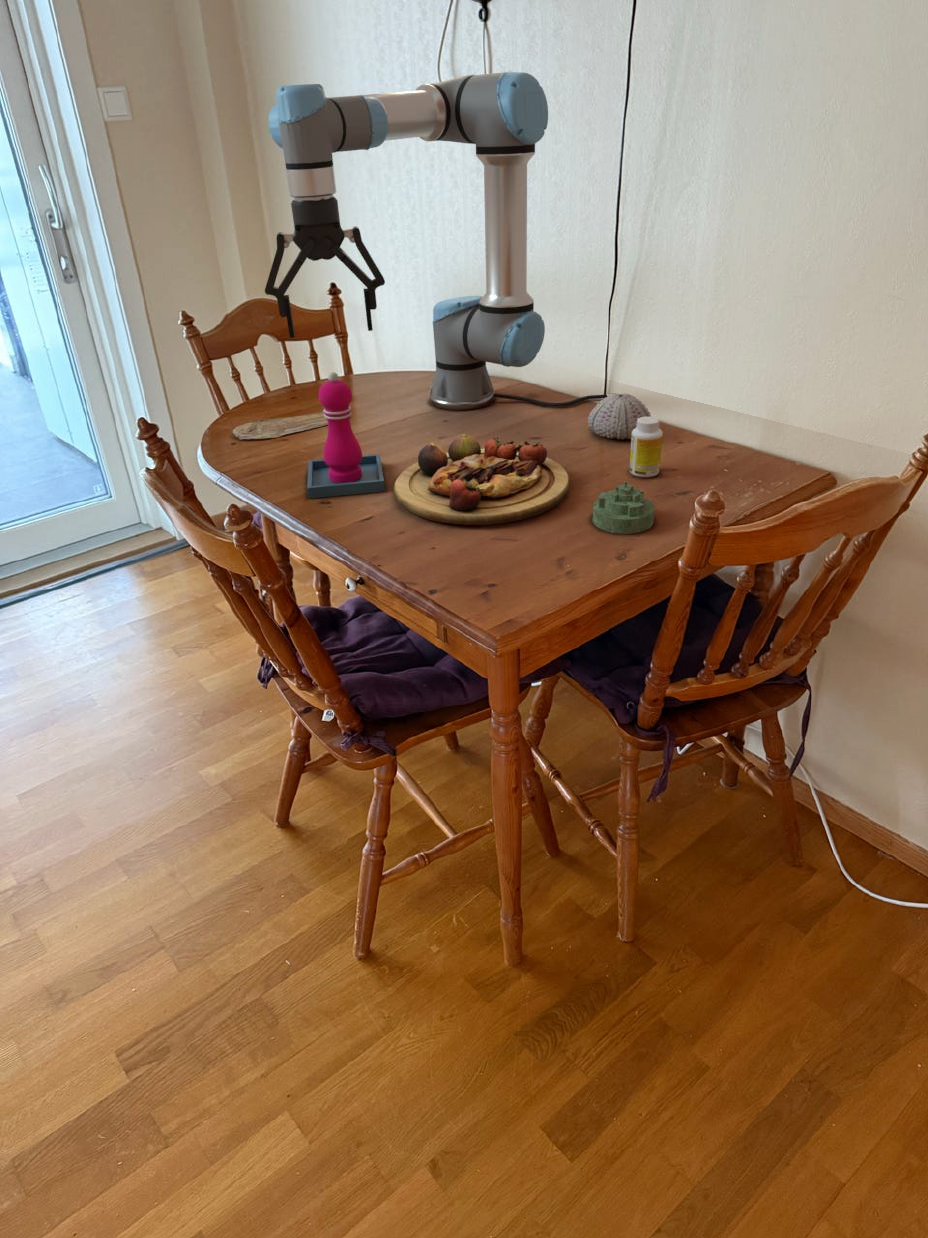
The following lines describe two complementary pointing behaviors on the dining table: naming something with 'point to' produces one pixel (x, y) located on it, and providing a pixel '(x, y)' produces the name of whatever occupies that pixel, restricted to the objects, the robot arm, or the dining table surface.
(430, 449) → the wooden plate
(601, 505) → the decorative artifact
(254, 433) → the fish fossil
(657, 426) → the supplement bottle
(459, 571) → the dining table surface
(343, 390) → the pepper mill
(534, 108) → the robot arm
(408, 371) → the dining table surface
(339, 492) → the tray
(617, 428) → the sea urchin shell
